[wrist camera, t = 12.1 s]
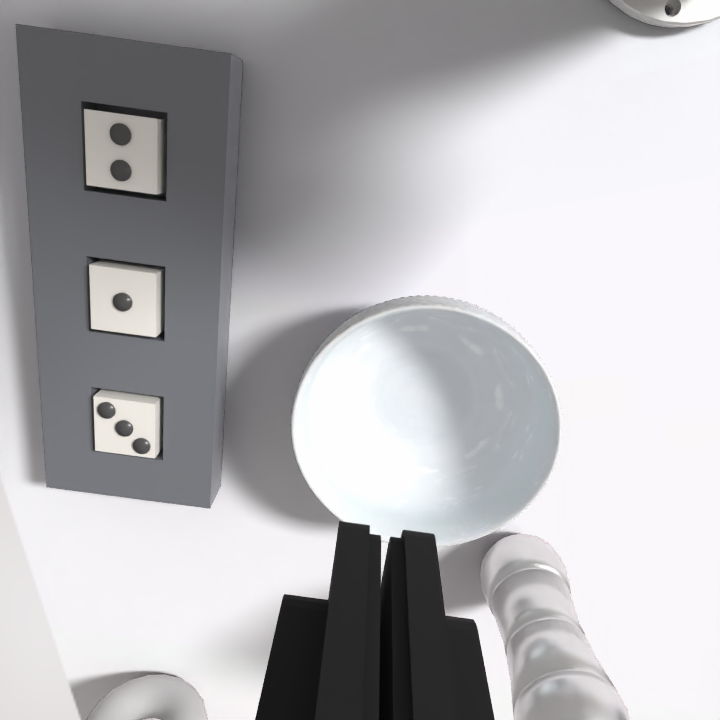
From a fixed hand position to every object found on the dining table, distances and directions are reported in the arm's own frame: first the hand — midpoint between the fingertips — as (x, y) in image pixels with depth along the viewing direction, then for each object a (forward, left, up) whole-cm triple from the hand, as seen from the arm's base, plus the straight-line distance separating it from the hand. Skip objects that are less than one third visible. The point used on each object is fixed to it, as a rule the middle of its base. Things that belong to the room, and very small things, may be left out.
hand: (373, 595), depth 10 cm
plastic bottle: (+22, +14, -31) cm, 41 cm away
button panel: (+4, -16, -31) cm, 35 cm away
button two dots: (-5, -16, -30) cm, 34 cm away
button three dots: (+13, -16, -30) cm, 36 cm away
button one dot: (+4, -16, -30) cm, 34 cm away
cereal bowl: (+9, +4, -31) cm, 33 cm away
